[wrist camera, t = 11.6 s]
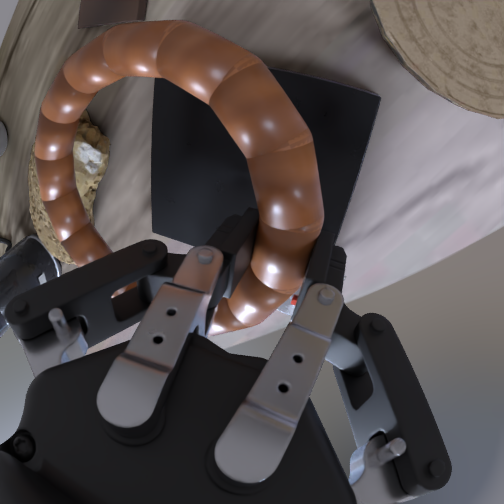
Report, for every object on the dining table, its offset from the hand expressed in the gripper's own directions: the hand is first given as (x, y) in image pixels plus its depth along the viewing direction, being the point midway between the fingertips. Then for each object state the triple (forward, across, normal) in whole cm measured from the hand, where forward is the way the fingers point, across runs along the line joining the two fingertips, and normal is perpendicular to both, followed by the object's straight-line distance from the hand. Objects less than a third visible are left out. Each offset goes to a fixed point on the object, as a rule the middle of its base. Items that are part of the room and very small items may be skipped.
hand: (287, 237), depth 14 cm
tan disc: (+13, -9, -16) cm, 22 cm away
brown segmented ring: (0, +7, 0) cm, 7 cm away
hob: (+12, +4, +3) cm, 13 cm away
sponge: (+12, +26, +9) cm, 31 cm away
